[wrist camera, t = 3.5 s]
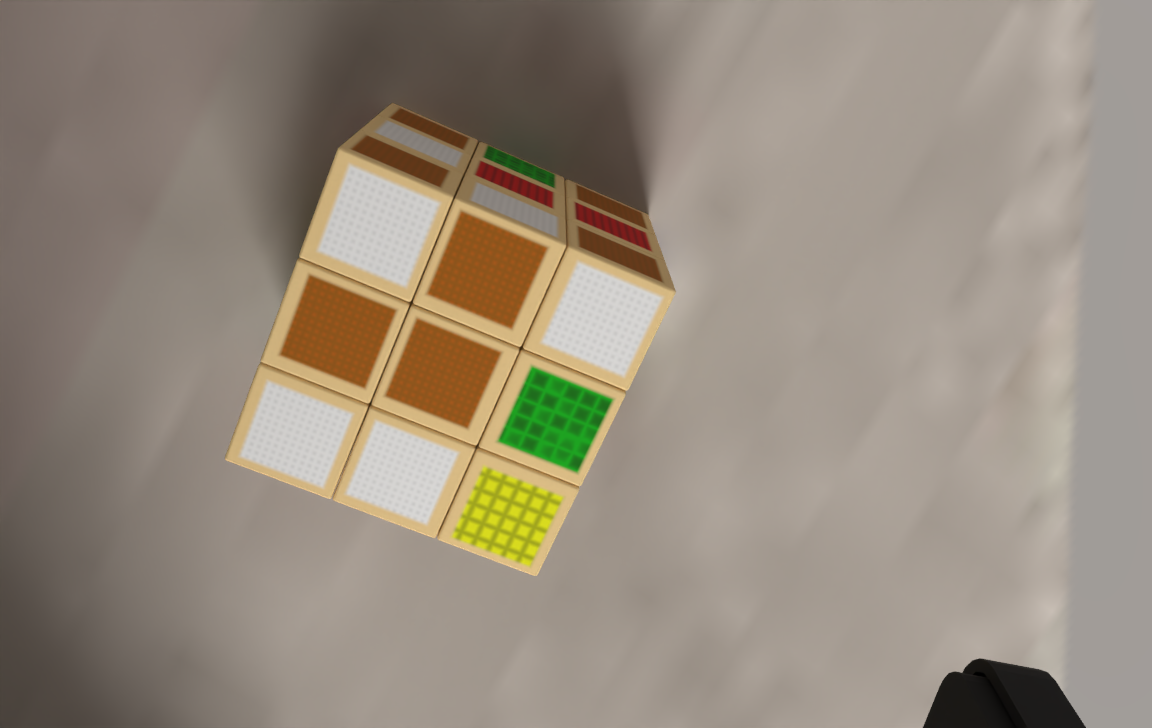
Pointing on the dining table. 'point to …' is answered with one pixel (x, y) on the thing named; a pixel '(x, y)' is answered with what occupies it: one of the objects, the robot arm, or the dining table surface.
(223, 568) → the dining table surface
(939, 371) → the dining table surface
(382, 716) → the dining table surface
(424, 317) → the rubik's cube
